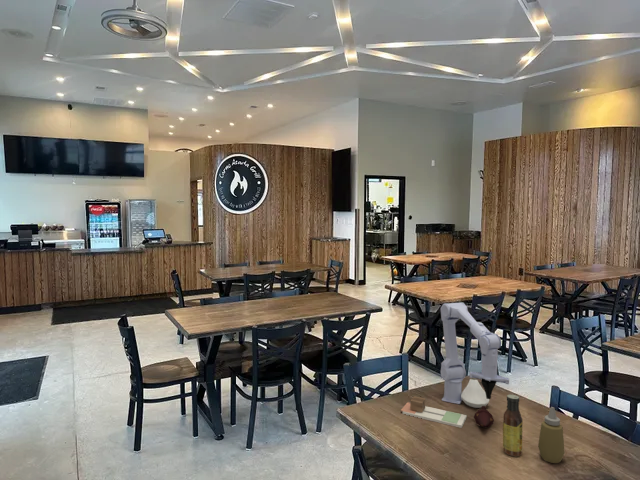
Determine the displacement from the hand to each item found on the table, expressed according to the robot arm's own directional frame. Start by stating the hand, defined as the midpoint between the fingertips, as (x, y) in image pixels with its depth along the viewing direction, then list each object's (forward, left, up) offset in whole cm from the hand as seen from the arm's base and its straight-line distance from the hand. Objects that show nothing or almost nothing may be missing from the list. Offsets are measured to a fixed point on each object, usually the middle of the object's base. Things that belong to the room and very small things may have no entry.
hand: (488, 398), depth 172 cm
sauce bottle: (+18, +11, -11) cm, 23 cm away
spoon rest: (-21, -9, -11) cm, 26 cm away
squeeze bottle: (+16, +23, -11) cm, 30 cm away
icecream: (+3, -1, -11) cm, 11 cm away
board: (+4, -20, -10) cm, 23 cm away
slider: (+4, -27, -9) cm, 29 cm away
